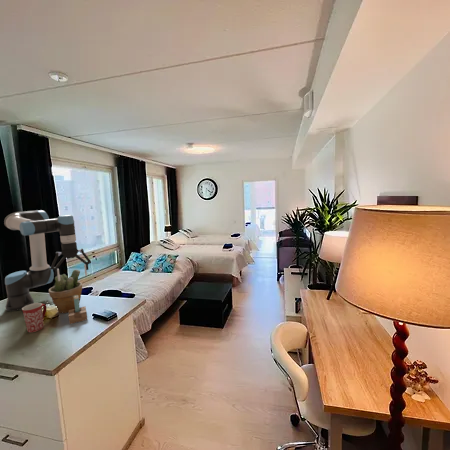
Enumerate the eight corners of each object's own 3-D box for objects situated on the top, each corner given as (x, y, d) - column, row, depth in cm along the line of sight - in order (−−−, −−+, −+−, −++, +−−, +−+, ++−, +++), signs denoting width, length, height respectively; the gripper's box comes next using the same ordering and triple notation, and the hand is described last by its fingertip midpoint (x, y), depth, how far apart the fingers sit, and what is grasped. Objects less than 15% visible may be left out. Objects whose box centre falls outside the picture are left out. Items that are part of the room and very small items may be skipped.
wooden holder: (69, 318, 154) (68, 310, 154) (86, 313, 159) (85, 306, 158) (69, 324, 147) (68, 316, 146) (87, 319, 151) (86, 311, 151)
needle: (76, 318, 153) (73, 296, 152) (80, 317, 155) (78, 295, 153) (75, 320, 151) (73, 297, 150) (80, 319, 152) (78, 296, 151)
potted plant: (66, 317, 155) (61, 278, 152) (44, 314, 161) (38, 276, 158) (90, 304, 172) (86, 268, 169) (70, 302, 178) (65, 267, 175)
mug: (35, 334, 138) (31, 310, 136) (21, 333, 140) (17, 309, 138) (54, 322, 150) (51, 300, 148) (41, 321, 152) (38, 299, 150)
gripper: (41, 246, 137) (46, 284, 140) (93, 240, 150) (97, 275, 153) (42, 244, 144) (47, 280, 147) (92, 238, 157) (96, 272, 159)
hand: (73, 277), depth 150 cm, fingers open, 13 cm apart
